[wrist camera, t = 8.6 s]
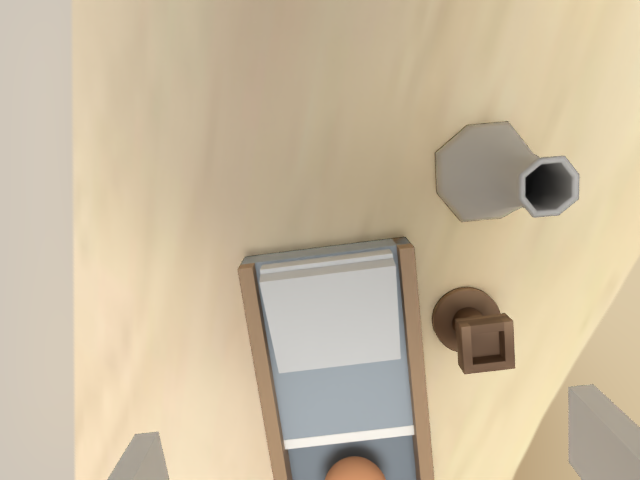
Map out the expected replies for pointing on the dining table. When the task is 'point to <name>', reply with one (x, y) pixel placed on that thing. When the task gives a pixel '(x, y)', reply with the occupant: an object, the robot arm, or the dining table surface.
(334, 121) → the dining table surface
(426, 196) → the dining table surface
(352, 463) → the ball
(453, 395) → the dining table surface
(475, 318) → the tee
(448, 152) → the flask
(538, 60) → the dining table surface
